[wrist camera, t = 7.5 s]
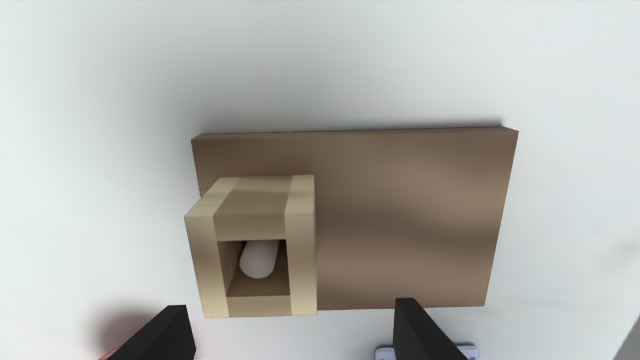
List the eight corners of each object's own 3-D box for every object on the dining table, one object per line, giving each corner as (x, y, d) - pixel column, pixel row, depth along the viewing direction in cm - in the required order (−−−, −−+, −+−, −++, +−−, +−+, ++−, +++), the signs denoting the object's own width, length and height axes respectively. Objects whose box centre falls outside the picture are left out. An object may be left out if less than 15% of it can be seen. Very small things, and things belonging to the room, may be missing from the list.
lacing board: (473, 291, 22) (526, 366, 16) (226, 297, 22) (195, 375, 16) (503, 126, 18) (587, 151, 12) (200, 134, 18) (147, 162, 12)
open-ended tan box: (317, 255, 19) (317, 315, 14) (231, 257, 19) (204, 318, 15) (314, 174, 17) (312, 212, 13) (219, 177, 17) (183, 216, 13)
